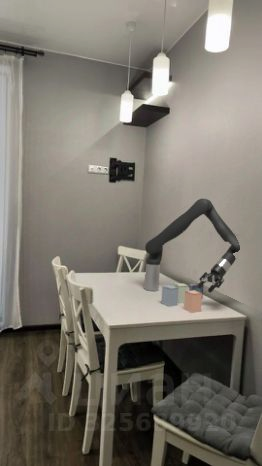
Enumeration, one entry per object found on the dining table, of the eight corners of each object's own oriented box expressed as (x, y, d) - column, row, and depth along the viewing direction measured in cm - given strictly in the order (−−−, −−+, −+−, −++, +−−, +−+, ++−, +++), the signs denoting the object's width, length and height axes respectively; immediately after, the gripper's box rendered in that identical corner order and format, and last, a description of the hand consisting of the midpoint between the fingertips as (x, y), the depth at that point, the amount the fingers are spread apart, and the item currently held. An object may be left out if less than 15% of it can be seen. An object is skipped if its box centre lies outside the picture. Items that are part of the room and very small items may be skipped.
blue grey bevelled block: (161, 303, 182) (162, 286, 181) (169, 302, 186) (170, 285, 185) (169, 306, 177) (170, 288, 176) (177, 305, 181) (178, 287, 180)
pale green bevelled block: (173, 299, 191) (174, 283, 190) (183, 299, 193) (184, 283, 192) (177, 303, 185) (178, 286, 184) (187, 303, 186) (188, 286, 186)
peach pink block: (183, 309, 174) (185, 291, 173) (193, 308, 177) (194, 290, 176) (191, 312, 169) (192, 294, 168) (200, 311, 172) (202, 293, 171)
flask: (189, 299, 194) (190, 282, 193) (187, 298, 197) (188, 281, 196) (203, 299, 196) (204, 282, 196) (201, 298, 199) (202, 281, 199)
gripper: (208, 261, 185) (191, 282, 180) (227, 266, 172) (209, 288, 168) (215, 270, 188) (198, 290, 183) (233, 275, 175) (216, 297, 171)
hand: (203, 289), depth 175 cm, fingers open, 8 cm apart
